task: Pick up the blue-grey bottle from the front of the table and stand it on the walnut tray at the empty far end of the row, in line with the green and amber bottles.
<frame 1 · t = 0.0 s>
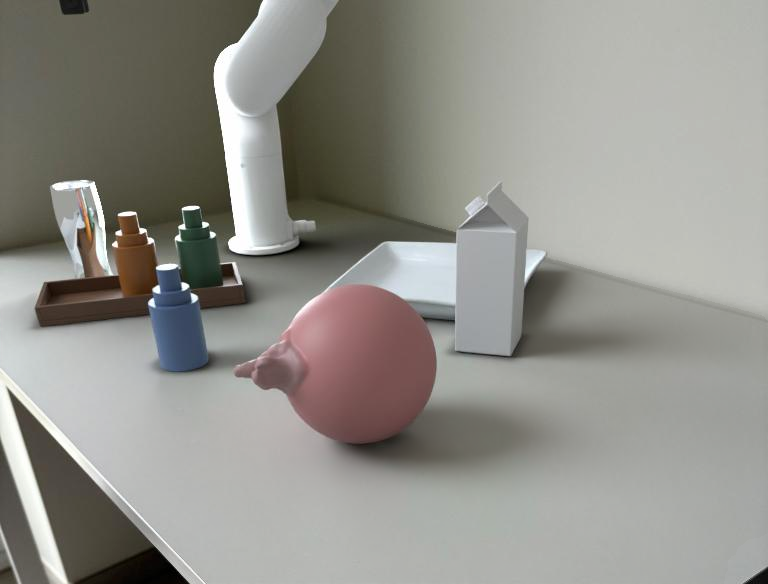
hand: (76, 13, 120), 37 cm above the table, tool pointing down, fingers open, 9 cm apart
beer glass: (95, 283, 130), on the table
balloon: (341, 440, 82), on the table
blue bottle: (184, 362, 101), on the table
square plate: (439, 295, 119), on the table
amber bottle: (144, 296, 121), point 1 cm above the table, touching tray
tray: (145, 301, 121), on the table
milk carton: (488, 346, 102), on the table
green bottle: (204, 289, 122), point 1 cm above the table, touching tray
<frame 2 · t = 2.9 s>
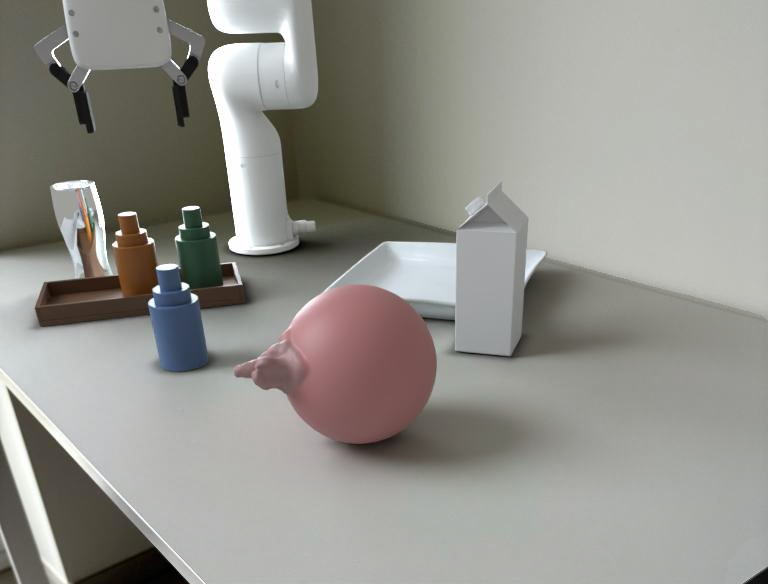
hand: (137, 128, 88), 27 cm above the table, tool pointing down, fingers open, 9 cm apart
nothing on the table moved.
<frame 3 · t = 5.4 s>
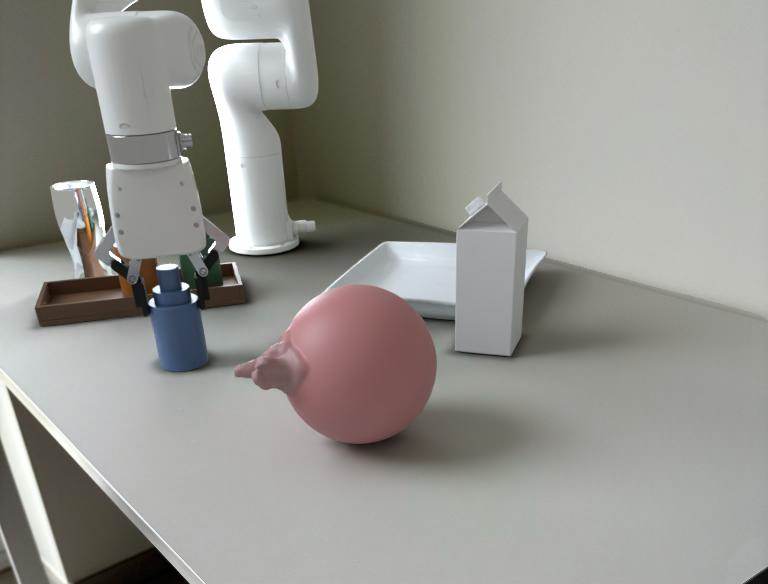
hand: (174, 308, 97), 7 cm above the table, tool pointing down, fingers closed on blue bottle, 6 cm apart
blue bottle: (184, 362, 101), on the table, touching gripper
everything else where it was.
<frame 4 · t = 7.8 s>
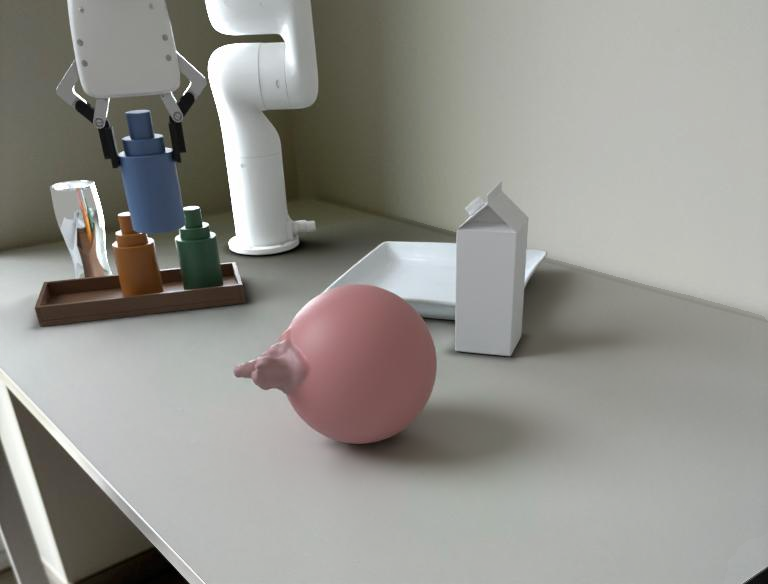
hand: (147, 161, 88), 23 cm above the table, tool pointing down, fingers closed on blue bottle, 6 cm apart
blue bottle: (159, 226, 92), point 16 cm above the table, touching gripper
everything else where it was.
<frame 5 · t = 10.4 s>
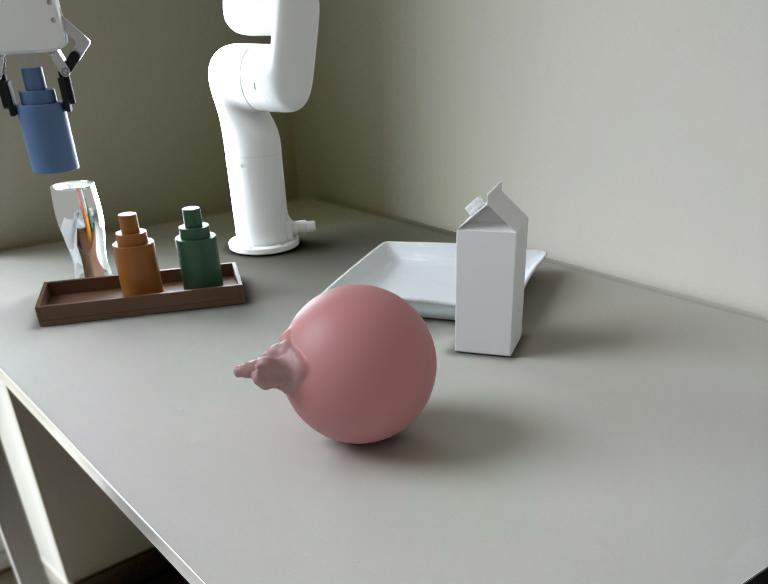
hand: (41, 111, 103), 27 cm above the table, tool pointing down, fingers closed on blue bottle, 6 cm apart
blue bottle: (56, 169, 107), point 20 cm above the table, touching gripper
everything else where it was.
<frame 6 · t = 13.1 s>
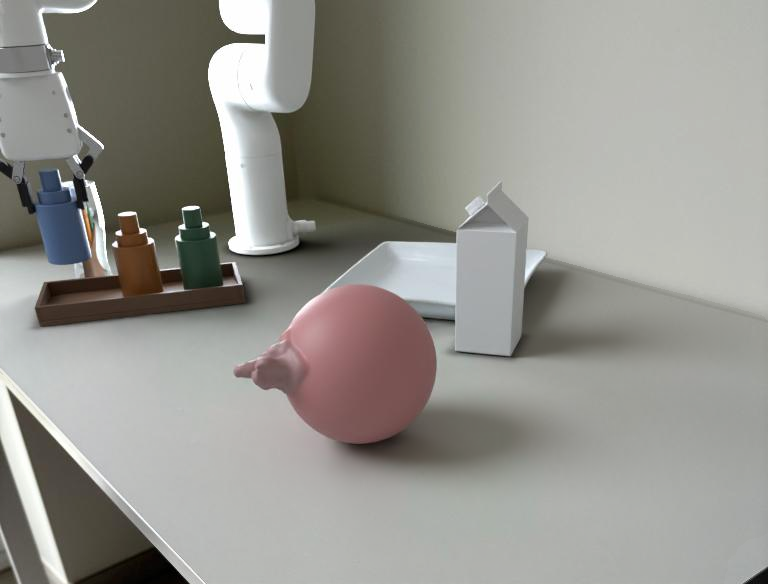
hand: (57, 208, 111), 14 cm above the table, tool pointing down, fingers closed on blue bottle, 6 cm apart
blue bottle: (70, 259, 115), point 7 cm above the table, touching gripper
everything else where it was.
when the fingers open (8 cm above the table, at t = 15.2 s): blue bottle stays where it is, resting on tray.
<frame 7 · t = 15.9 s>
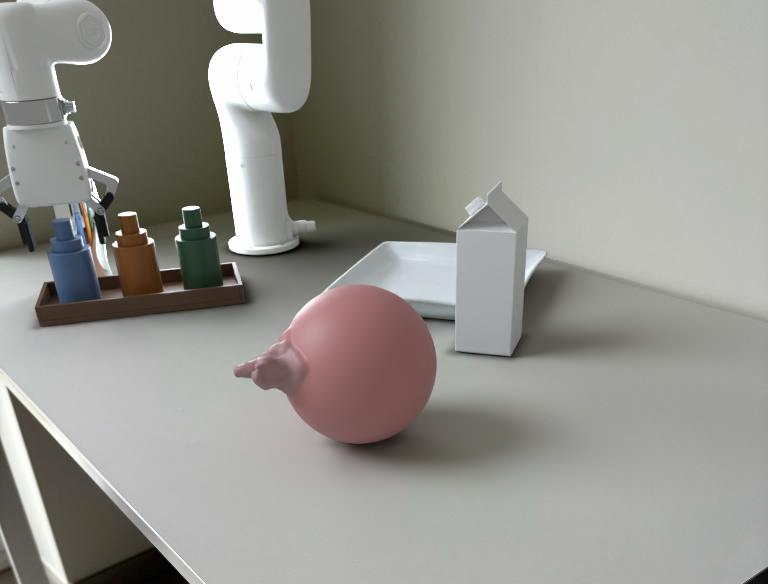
hand: (68, 245, 114), 9 cm above the table, tool pointing down, fingers open, 9 cm apart
blue bottle: (82, 303, 119), point 1 cm above the table, touching tray
everything else where it was.
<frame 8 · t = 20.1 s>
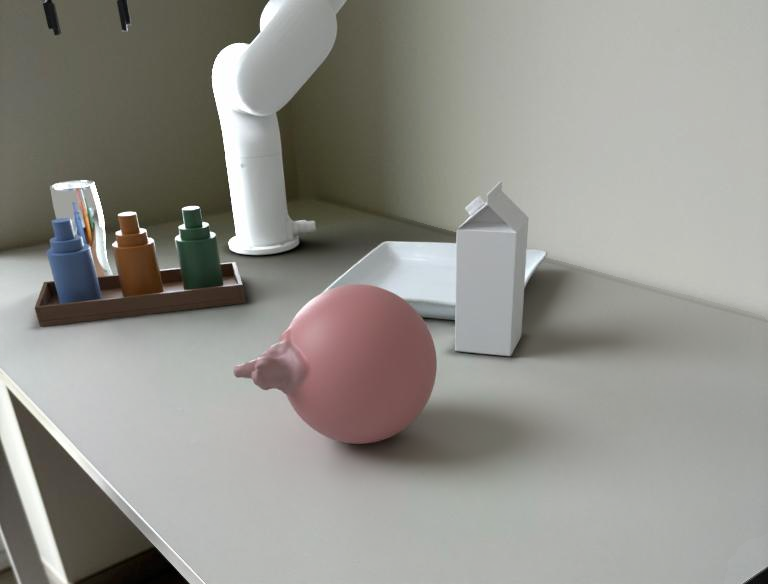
hand: (91, 33, 118), 34 cm above the table, tool pointing down, fingers open, 9 cm apart
nothing on the table moved.
at the end: blue bottle 0.1 cm from the target spot in the tray, point 0.8 cm above the tray's base; blue bottle tilted 0°; amber bottle moved 0.0 cm from its start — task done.
